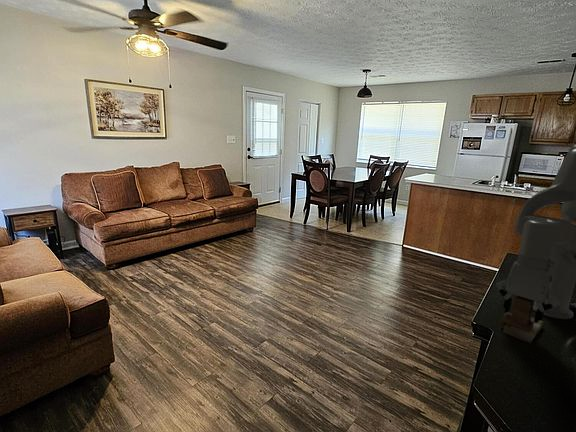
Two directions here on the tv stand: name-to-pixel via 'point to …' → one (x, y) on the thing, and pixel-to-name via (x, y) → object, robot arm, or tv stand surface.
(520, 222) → the robot arm
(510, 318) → the brown slider knob
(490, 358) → the tv stand surface
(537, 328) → the board
